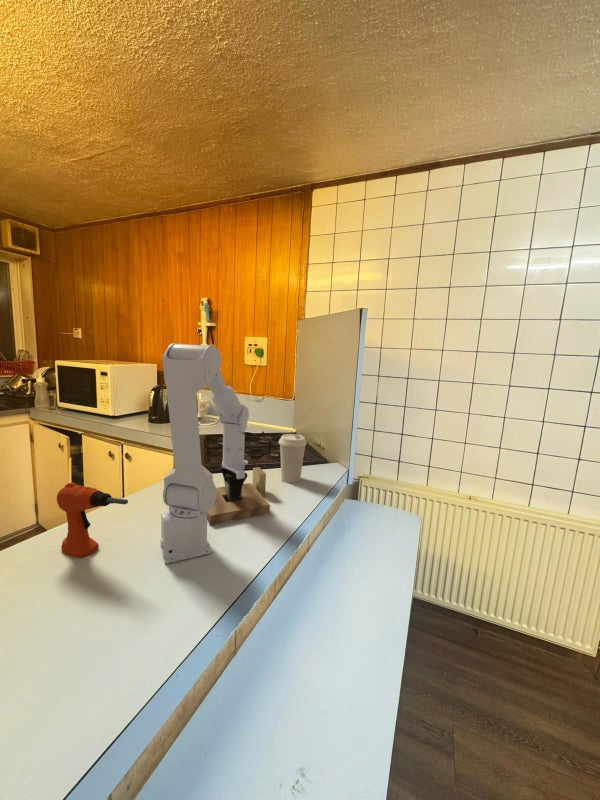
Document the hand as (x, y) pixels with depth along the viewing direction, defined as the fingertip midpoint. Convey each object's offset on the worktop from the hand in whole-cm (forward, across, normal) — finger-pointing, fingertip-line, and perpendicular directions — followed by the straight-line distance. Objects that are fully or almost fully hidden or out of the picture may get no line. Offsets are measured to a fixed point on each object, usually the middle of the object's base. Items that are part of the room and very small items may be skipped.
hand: (232, 494), depth 93 cm
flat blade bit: (+3, +6, -10) cm, 12 cm away
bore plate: (+3, 0, 0) cm, 3 cm away
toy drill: (+4, -11, +32) cm, 34 cm away
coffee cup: (+4, +12, -24) cm, 27 cm away
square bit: (+3, 0, 0) cm, 4 cm away
